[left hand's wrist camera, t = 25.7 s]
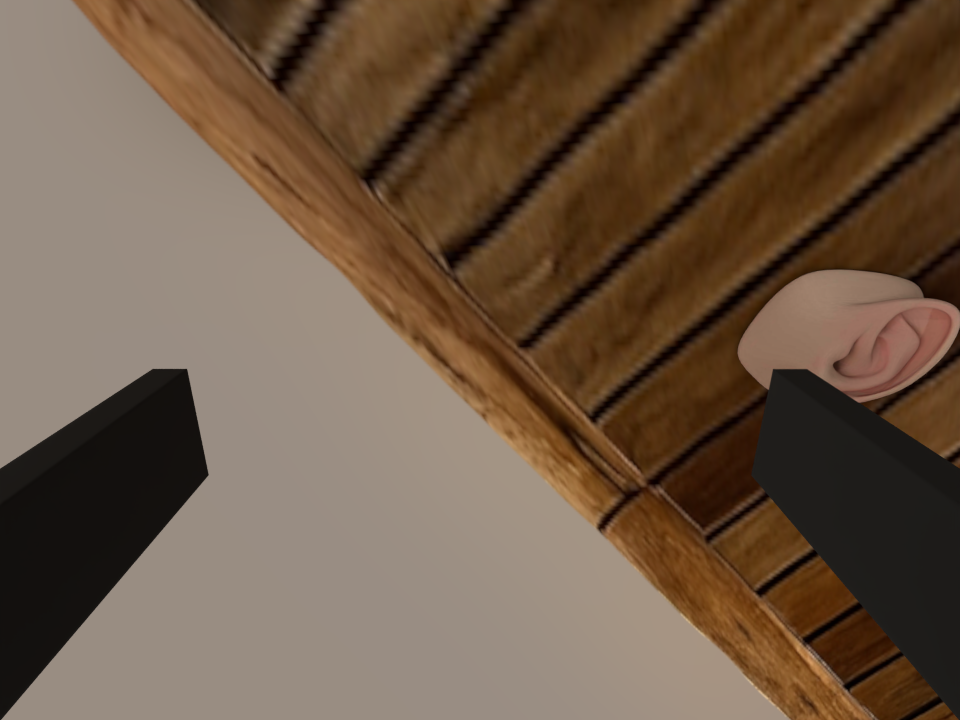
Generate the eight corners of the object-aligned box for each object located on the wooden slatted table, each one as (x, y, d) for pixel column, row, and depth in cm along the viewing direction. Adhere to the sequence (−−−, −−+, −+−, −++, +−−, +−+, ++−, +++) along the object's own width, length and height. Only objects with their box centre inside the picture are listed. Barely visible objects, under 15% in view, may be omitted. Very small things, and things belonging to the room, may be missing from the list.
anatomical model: (742, 402, 41) (815, 252, 37) (720, 381, 44) (784, 243, 40) (901, 443, 42) (988, 303, 38) (867, 419, 46) (942, 289, 42)
